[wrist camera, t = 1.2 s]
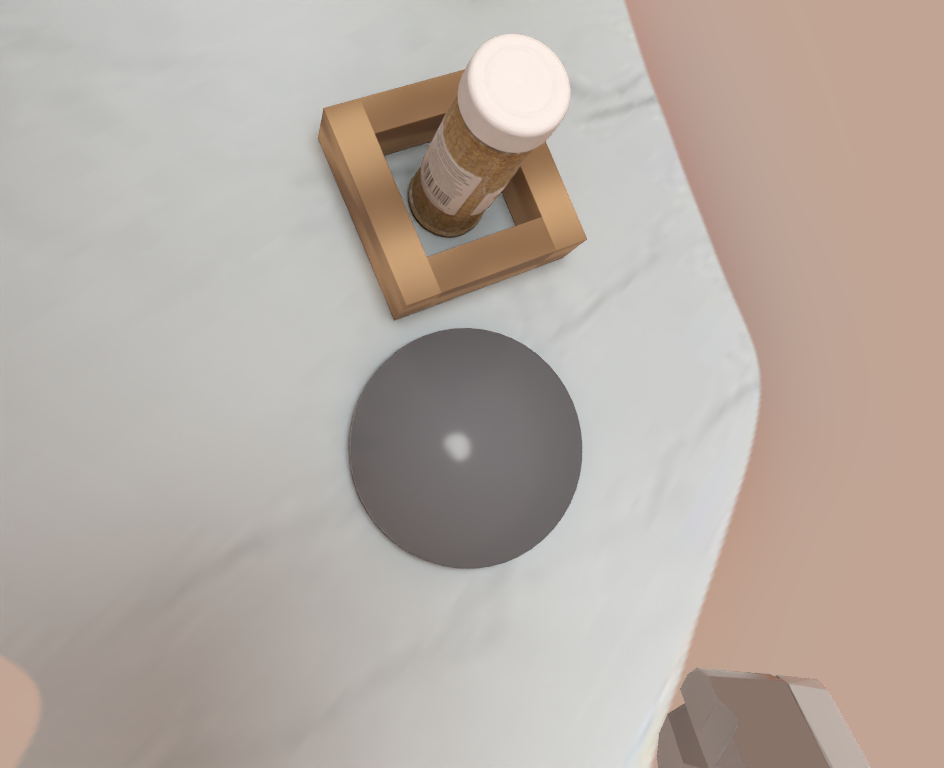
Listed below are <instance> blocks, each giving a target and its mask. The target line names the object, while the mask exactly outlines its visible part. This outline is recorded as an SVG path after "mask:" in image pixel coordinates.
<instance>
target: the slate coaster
mask: <svg viewBox="0 0 944 768" xmlns="http://www.w3.org/2000/svg"><path fill="white" fill-rule="evenodd" d="M349 458H350V467H351V472H352V477H353V481H354V484H355V487H356V490H357V493H358V495H359V497H360V499H361V501H362V503H363V505H364V507H365V509H366V511H367V512H368V514H369V515H370V517H371V518H372V520H373V521H374V523H375V524H376V525H377V526H378V527H379V528H380V529H381V530H382V531H383V533H384V534H385V535H386V536H388V537H389V538H390V539H391V540H392V541H393V542H395V543H396V544H397V545H399V546H400V547H402V548H403V549H405V550H406V551H408V552H409V553H411V554H413V555H416V556H418V557H420V558H422V559H424V560H427V561H430V562H433V563H436V564H439V565H443V566H449V567H455V568H481V567H490V566H493V565H497V564H501V563H504V562H507V561H509V560H512V559H514V558H516V557H519V556H520V555H522V554H524V553H525V552H527V551H529V550H530V549H532V548H533V547H534V546H536V545H537V544H538V543H540V542H541V541H542V540H543V539H544V538H545V537H546V536H547V535H548V534H549V533H550V532H551V531H552V530H553V529H554V528H555V526H556V525H557V524H558V522H559V521H560V520H561V518H562V517H563V515H564V514H565V512H566V510H567V508H568V507H569V505H570V503H571V500H572V498H573V495H574V493H575V491H576V487H577V484H578V480H579V476H580V470H581V463H582V438H581V429H580V425H579V420H578V416H577V413H576V410H575V407H574V404H573V402H572V399H571V397H570V395H569V393H568V391H567V389H566V388H565V386H564V384H563V383H562V381H561V380H560V378H559V377H558V375H557V374H556V373H555V372H554V371H553V369H552V368H551V367H550V366H549V365H548V364H547V363H546V362H545V361H544V360H543V359H542V358H541V357H540V356H539V355H538V354H536V353H535V352H533V351H532V350H531V349H529V348H528V347H526V346H525V345H523V344H521V343H520V342H518V341H516V340H514V339H512V338H509V337H507V336H504V335H502V334H499V333H495V332H491V331H487V330H481V329H472V328H460V329H449V330H443V331H438V332H435V333H432V334H429V335H425V336H423V337H421V338H419V339H417V340H415V341H412V342H411V343H409V344H407V345H406V346H404V347H403V348H401V349H400V350H398V351H397V352H396V353H395V354H394V355H392V356H391V357H390V358H389V359H388V360H387V361H386V362H385V363H384V364H383V365H382V366H381V367H380V368H379V369H378V370H377V371H376V372H375V374H374V375H373V376H372V378H371V379H370V381H369V382H368V384H367V385H366V387H365V388H364V390H363V392H362V394H361V396H360V398H359V400H358V403H357V406H356V409H355V412H354V415H353V419H352V424H351V429H350V437H349Z"/></svg>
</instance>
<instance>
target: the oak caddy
mask: <svg viewBox="0 0 944 768" xmlns="http://www.w3.org/2000/svg"><path fill="white" fill-rule="evenodd" d="M464 71H465V70H461V71H458V72H454V73H450V74H447V75H443V76H439V77H436V78H432V79H428V80H425V81H421V82H417V83H414V84H410V85H406V86H403V87H399V88H396V89H392V90H388V91H385V92H381V93H377V94H374V95H370V96H366V97H363V98H359V99H355V100H352V101H348V102H344V103H341V104H337V105H333V106H330V107H326V108H324V109H323V114H322V120H321V125H320V131H319V136H318V139H319V141H320V144H321V146H322V148H323V151H324V153H325V156H326V158H327V160H328V163H329V165H330V168H331V170H332V172H333V175H334V177H335V179H336V182H337V184H338V187H339V189H340V191H341V194H342V196H343V199H344V201H345V203H346V206H347V208H348V210H349V213H350V215H351V218H352V220H353V222H354V225H355V227H356V230H357V232H358V234H359V237H360V239H361V241H362V244H363V246H364V249H365V251H366V253H367V256H368V258H369V261H370V263H371V265H372V268H373V270H374V272H375V275H376V277H377V280H378V282H379V284H380V287H381V289H382V292H383V294H384V296H385V299H386V301H387V303H388V306H389V308H390V311H391V313H392V315H393V318H394V320H397V319H399V318H402V317H405V316H407V315H410V314H413V313H416V312H418V311H421V310H424V309H426V308H429V307H432V306H434V305H437V304H440V303H442V302H445V301H448V300H450V299H453V298H456V297H458V296H461V295H464V294H466V293H469V292H472V291H475V290H477V289H480V288H483V287H485V286H488V285H491V284H493V283H496V282H499V281H501V280H504V279H507V278H509V277H512V276H515V275H517V274H520V273H523V272H525V271H528V270H531V269H533V268H536V267H539V266H542V265H544V264H547V263H550V262H552V261H555V260H558V259H560V258H563V257H564V256H566V255H567V254H568V253H570V252H571V251H572V250H574V249H575V248H576V247H577V246H579V245H580V244H581V243H583V242H584V241H585V240H587V238H586V235H585V233H584V231H583V228H582V226H581V224H580V221H579V219H578V217H577V214H576V212H575V210H574V207H573V205H572V202H571V200H570V198H569V195H568V193H567V191H566V188H565V186H564V184H563V181H562V179H561V177H560V174H559V172H558V170H557V167H556V165H555V163H554V160H553V158H552V155H551V153H550V151H549V148H548V146H547V144H546V141H545V142H544V143H543V144H541V145H540V146H539V147H537V148H535V149H533V151H532V152H531V153H530V154H529V155H528V157H527V158H526V160H525V161H524V162H523V163H522V164H521V165H520V167H519V169H518V170H517V172H516V173H515V174H514V176H513V177H512V178H511V179H510V181H509V182H508V184H507V185H506V187H505V188H504V189H503V190H502V194H503V196H504V198H505V201H506V203H507V206H508V208H509V210H510V213H511V215H512V217H513V220H514V222H515V224H516V226H515V227H512V228H509V229H506V230H503V231H500V232H497V233H495V234H492V235H489V236H486V237H483V238H480V239H477V240H475V241H472V242H469V243H466V244H463V245H460V246H458V247H455V248H452V249H449V250H446V251H443V252H440V253H438V254H435V255H432V256H429V257H426V254H425V252H424V250H423V247H422V245H421V243H420V240H419V238H418V235H417V233H416V231H415V228H414V226H413V224H412V221H411V219H410V216H409V214H408V212H407V209H406V207H405V205H404V202H403V200H402V197H401V195H400V193H399V190H398V188H397V186H396V183H395V181H394V178H393V176H392V174H391V171H390V169H389V167H388V164H387V162H386V159H385V157H384V155H387V154H390V153H394V152H397V151H400V150H404V149H407V148H410V147H414V146H417V145H420V144H424V143H427V142H430V141H432V140H433V138H434V136H435V134H436V132H437V130H438V128H439V126H440V124H441V122H442V120H443V118H444V116H445V114H446V112H447V111H448V109H449V108H450V106H451V105H452V103H453V101H454V99H455V97H456V95H457V92H458V87H459V83H460V79H461V77H462V75H463V73H464Z"/></svg>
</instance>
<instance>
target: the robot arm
mask: <svg viewBox="0 0 944 768" xmlns="http://www.w3.org/2000/svg"><path fill="white" fill-rule="evenodd" d="M680 690H681V693H682V696H683V698H684V702H685V704H683V705H681V706H680V707H678V708H676V709H675V710H673V711H672V712H670V713H669V714H667V717H666V719H665V721H664V723H663V726H662V728H661V730H660V733H659V740H658V751H657V761H658V768H871V766H870V764H869V762H868V760H867V759H866V757H865V755H864V753H863V752H862V750H861V748H860V746H859V745H858V743H857V741H856V739H855V738H854V735H853V734H852V732H851V730H850V728H849V727H848V725H847V723H846V721H845V720H844V718H843V716H842V714H841V712H840V711H839V709H838V707H837V705H836V703H835V702H834V700H833V698H832V697H831V695H830V693H829V691H828V690H827V688H826V687H825V686H824V685H823V684H821V683H820V682H819V681H818V680H817V679H810V678H798V677H788V676H778V675H777V676H772V675H770V674H760V673H750V672H738V671H726V670H715V669H704V668H696V669H694V670H693V671H692V672H690V673H689V674H688V675H687V677H686V678H685V681H684V682H683V684H682V686H681V688H680Z"/></svg>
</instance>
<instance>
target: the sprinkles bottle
mask: <svg viewBox="0 0 944 768" xmlns="http://www.w3.org/2000/svg"><path fill="white" fill-rule="evenodd" d="M570 94H571V93H570V83H569V79H568V76H567V73H566V70H565V68H564V66H563V65H562V63H561V61H560V60H559V58H558V57H557V56H556V55H555V54H554V53H553V51H552V50H551V49H549V48H548V47H547V46H545V45H544V44H543V43H541V42H539V41H538V40H536V39H533V38H531V37H528V36H525V35H521V34H503V35H499V36H496V37H493V38H491V39H489V40H487V41H486V42H484V43H483V44H482V45H481V46H480V47H479V48H478V49H477V50H476V51H475V53H474V54H473V56H472V58H471V59H470V61H469V63H468V65H467V67H466V69H465V71H464V73H463V75H462V77H461V79H460V83H459V87H458V92H457V95H456V97H455V99H454V101H453V103H452V105H451V106H450V108H449V109H448V111H447V112H446V114H445V116H444V118H443V120H442V122H441V124H440V126H439V128H438V130H437V132H436V134H435V136H434V138H433V140H432V142H431V144H430V146H429V148H428V150H427V152H426V154H425V156H424V158H423V161H422V165H421V167H420V169H419V170H418V171H417V172H416V174H415V176H414V177H413V178H412V180H411V183H410V186H409V192H408V199H409V203H410V207H411V210H412V211H413V214H414V216H415V217H416V219H417V220H418V221H419V222H420V223H421V225H422V226H424V227H425V228H426V229H428V230H429V231H431V232H433V233H436V234H439V235H442V236H448V237H452V236H458V235H461V234H464V233H465V232H468V231H469V230H471V229H472V228H474V227H475V226H476V225H477V223H478V222H479V220H480V219H481V217H482V215H483V213H484V211H485V210H486V209H487V208H488V207H489V206H490V205H491V204H492V203H493V202H494V200H495V199H496V198H497V197H498V195H499V194H500V193H501V192H502V190H503V189H504V188H505V187H506V185H507V184H508V182H509V181H510V179H511V178H512V177H513V176H514V174H515V173H516V172H517V170H518V169H519V167H520V165H521V164H522V163H523V162H524V161H525V160H526V158H527V157H528V155H529V154H530V153H531V152H532V151H533V149H535V148H537V147H539V146H540V145H541V144H543V143H544V142H545V141H546V140H547V139H548V138H549V137H550V136H551V134H552V133H553V132H554V131H555V129H556V128H557V127H558V125H559V124H560V123H561V121H562V120H563V118H564V116H565V115H566V112H567V110H568V107H569V103H570Z"/></svg>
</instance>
